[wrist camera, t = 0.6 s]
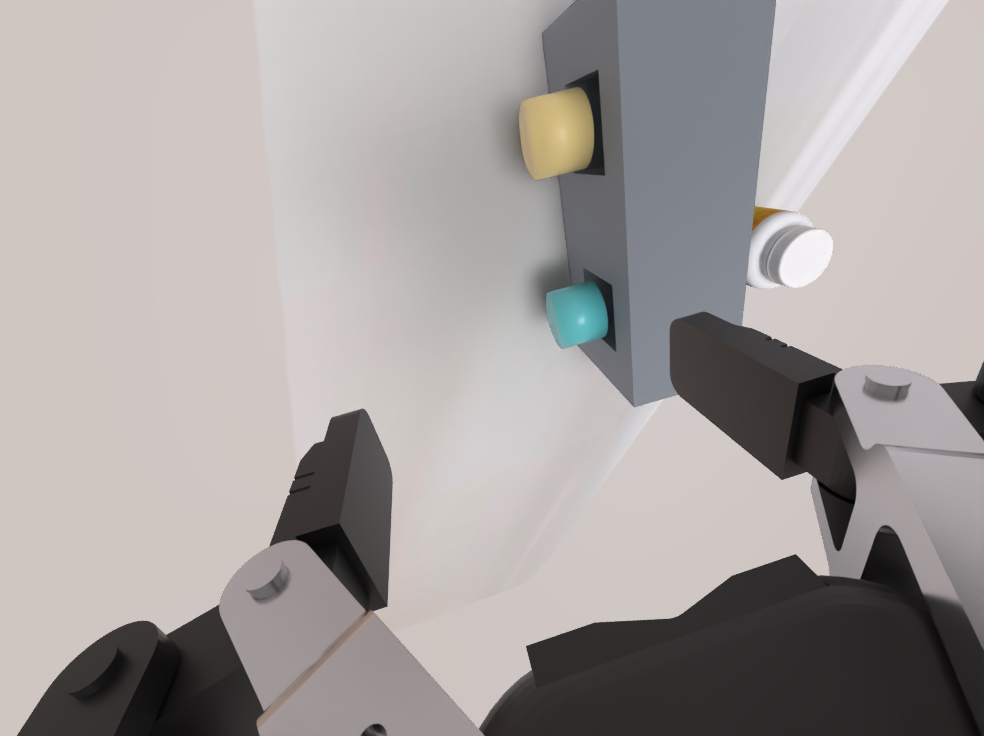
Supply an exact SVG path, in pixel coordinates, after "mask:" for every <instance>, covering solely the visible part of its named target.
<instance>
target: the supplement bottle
mask: <svg viewBox="0 0 984 736" xmlns="http://www.w3.org/2000/svg"><path fill="white" fill-rule="evenodd" d="M832 252H833V241H832V238H831V236H830V235H829V234H828V233H827V232H826V231H824V230H822V229H818V228H813V225H812V223H811V222H810V220H809V219H808V218H807V217H806V216H805V215H803V214H801V213H798V212H793V211H786V210H779V209H772V208H764V207H757V206H754V215H753V224H752V234H751V243H750V253H749V262H748V272H747V281H746V285H749V286H751V287H755V288H759V289H772V288H776V287H779V286H781V285H784V286H787V287H791V288H798V287H802V286H805V285H807V284H809V283H811V282H812V281H814V280H815V279H816V278H817V277H819V276H820V275H821V273H822V272H823V271H824V270H825V268H826V266H827V265H828V263H829V261H830V259H831V256H832Z"/></svg>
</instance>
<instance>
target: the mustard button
mask: <svg viewBox="0 0 984 736" xmlns="http://www.w3.org/2000/svg"><path fill="white" fill-rule="evenodd" d="M519 130H520V140H521V146H522V152H523V156H524V160H525V164H526V167H527V170H528V172H529V174H530V176H531V178H532V179H533V180H535V181H537V180H541V179H545V178H549V177H553V176H557V175H561V174H565V173H569V172H573V171H577V170H581V169H585V168H586V167H587V166H588V165H589V163H590V161H591V158H592V154H593V148H594V123H593V116H592V111H591V107H590V103H589V100H588V98H587V96H586V94H585V92H584V91H583V90H582V89H581V88H580V87H575V88H571V89H566V90H562V91H558V92H554V93H550V94H545V95H541V96H537V97H533V98H528V99H524V100H523V101H522V103H521V106H520V112H519Z"/></svg>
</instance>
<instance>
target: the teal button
mask: <svg viewBox="0 0 984 736" xmlns="http://www.w3.org/2000/svg"><path fill="white" fill-rule="evenodd" d="M546 311H547V316H548V321H549V324H550V328H551V331H552V334H553V336H554V338H555V341H556V342H557V344H558V346H559V347H560V348H562V349H563V348H567V347H571V346H574V345H578V344H581V343H585V342H589V341H592V340H596V339H600V338H603V337H605V336H606V334H607V330H608V316H607V310H606V306H605V302H604V299H603V296H602V294H601V292H600V290H599V288H598V287H597V285H596V284H595V283H594V282H592V281H587V282H584V283H580V284H576V285H572V286H569V287H565V288H561V289H557V290H554V291H550V292H547V294H546Z"/></svg>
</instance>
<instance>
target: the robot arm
mask: <svg viewBox="0 0 984 736" xmlns="http://www.w3.org/2000/svg"><path fill="white" fill-rule="evenodd" d="M670 378H671V382H672V385H673V387H674V389H675V391H676V392H677V393H678V395H680V397H682V398H683V399H684V400H685V401H686V402H688V403H689V404H690V405H691V406H693V407H694V408H695V409H696V410H697V411H699V412H700V413H701V414H702V415H704V416H705V417H706V418H707V419H709V420H710V421H711V422H712V423H713V424H715V425H716V426H717V427H718V428H719V429H721V430H722V431H723V432H724V433H725V434H727V435H728V436H729V437H730V438H731V439H733V440H734V441H735V442H736V443H738V444H739V445H740V446H741V447H742V448H744V449H745V450H746V451H747V452H749V453H750V454H751V455H752V456H753V457H755V458H756V459H757V460H758V461H759V462H761V463H762V464H763V465H764V466H766V467H767V468H768V469H769V470H770V471H772V472H773V473H774V474H775V475H777V476H778V477H779V478H780V479H781V480H783V479H786V478H789V477H792V476H795V475H798V474H802V473H804V472H808V473H809V474H811V475H812V476H813V479H812V484H811V494H812V497H813V502H814V506H815V510H816V514H817V519H818V523H819V527H820V531H821V535H822V539H823V544H824V548H825V552H826V556H827V560H828V565H829V573H830V576H822V575H821V576H817V575H816V574H815V573H814V572H813V571H812V570H811V569H810V568H809V567H808V566H807V565H806V564H805V563H804V562H803V561H802V560H801V559H800V558H799V557H798V556H797V555H796V554H795V555H792V556H789V557H786V558H783V559H780V560H778V561H775V562H772V563H769V564H766V565H763V566H760V567H757V568H754V569H751V570H748V571H745V572H742V573H739V574H736V575H733V576H731V577H730V578H729V579H727V580H726V581H725V582H723V583H722V584H721V585H719V586H718V587H717V588H715V590H713V591H712V592H710V593H709V594H708V595H706V596H705V597H704V598H702V599H701V600H700V601H698V602H697V603H696V604H695V605H693V606H692V607H690V608H689V609H688V610H687V611H685V612H684V613H683V614H681V615H679V616H678V617H675V618H671V619H656V620H637V621H618V622H599V623H593V624H590V625H587V626H584V627H581V628H578V629H575V630H572V631H569V632H566V633H563V634H560V635H557V636H555V637H552V638H549V639H546V640H543V641H540V642H537V643H534V644H531V645H528V646H526V648H527V652H528V656H529V660H530V664H531V668H532V670H531V671H530V672H528V673H527V674H526V675H524V676H523V677H521V678H520V679H519V680H518V681H517V682H516V683H515V684H514V685H513V686H511V687H510V688H509V689H508V690H507V691H506V692H505V693H504V695H503V696H502V697H501V698H500V699H499V701H498V702H497V703H496V704H495V706H494V707H493V708H492V709H491V711H490V712H489V714H488V715H487V717H486V718H485V720H484V722H483V723H482V725H481V726H480V728H479V729H478V728H477V727H476V726H475V725H474V723H473V722H472V721H471V720H470V719H469V718H468V717H467V715H465V713H464V712H463V711H462V710H461V709H460V708H459V707H458V705H457V704H456V703H455V702H454V701H453V700H452V699H451V698H450V696H449V695H448V694H447V693H446V692H445V691H444V690H443V689H442V688H441V686H440V685H439V684H438V683H437V682H436V681H435V680H434V679H433V678H432V677H431V675H430V674H429V673H428V672H427V671H426V670H425V669H424V668H423V666H422V665H421V664H420V663H419V662H418V661H417V660H416V659H415V658H414V656H413V655H412V654H411V653H410V652H409V651H408V650H407V649H406V647H405V646H404V645H403V644H402V643H401V642H400V641H399V640H398V639H397V637H396V636H395V635H394V634H393V633H392V632H391V631H390V630H389V628H388V627H387V626H386V625H385V624H384V623H383V622H382V621H381V619H380V618H379V617H378V616H377V615H376V614H375V613H374V612H373V611H375V610H378V609H381V608H384V607H387V603H388V579H389V555H390V531H391V507H392V472H391V468H390V464H389V461H388V458H387V455H386V453H385V451H384V449H383V446H382V444H381V442H380V440H379V437H378V435H377V433H376V431H375V428H374V426H373V424H372V422H371V419H370V417H369V415H368V413H367V412H366V411H365V410H364V409H360V410H356V411H353V412H349V413H346V414H342V415H339V416H335V417H332V418H331V420H330V423H329V426H328V430H327V433H326V436H325V439H324V441H323V442H319V443H316V444H314V445H313V446H312V447H311V449H310V450H309V451H308V452H307V453H306V455H305V456H304V457H303V458H302V459H301V461H300V463H299V466H298V469H297V472H296V474H295V477H294V478H295V481H293V483H292V486H291V488H290V491H289V492H290V495H288V497H287V499H286V502H285V505H284V507H283V510H282V513H281V516H280V519H279V521H278V524H277V527H276V530H275V532H274V535H273V538H272V541H271V543H270V546H269V547H268V548H266V549H264V550H263V551H261V552H259V553H258V554H256V555H255V556H253V557H252V558H251V559H250V560H248V561H247V562H246V563H245V564H244V565H243V566H242V567H241V568H240V569H239V570H238V571H237V572H236V573H235V575H234V576H233V577H232V578H231V580H230V581H229V583H228V584H227V586H226V588H225V589H224V591H223V594H222V596H221V599H220V604H219V605H218V606H216V607H215V608H213V609H211V610H209V611H208V612H206V613H204V614H202V615H200V616H199V617H197V618H195V619H193V620H192V621H190V622H188V623H187V624H185V625H183V626H181V627H180V628H178V629H176V630H174V631H173V632H171V633H169V634H167V635H165V634H164V633H163V632H162V631H161V630H160V629H159V628H158V627H157V626H156V625H155V624H153V623H151V622H149V621H137V622H133V623H130V624H126V625H124V626H122V627H119V628H117V629H115V630H113V631H112V632H110V633H108V634H107V635H105V636H103V637H102V638H100V639H99V640H97V641H96V642H95V643H93V644H92V645H91V646H89V647H88V648H87V649H86V650H85V651H83V652H82V653H81V654H79V655H78V656H77V657H76V658H75V659H74V660H73V661H72V662H71V663H70V664H69V665H68V666H67V667H66V668H65V669H64V670H63V671H62V672H61V673H60V674H59V675H58V677H57V678H56V679H55V680H54V681H53V683H52V684H51V685H50V687H49V688H48V690H47V691H46V692H45V694H44V695H43V697H42V698H41V700H40V702H39V703H38V704H37V706H36V708H35V709H34V710H33V712H32V714H31V715H30V717H29V718H28V720H27V721H26V723H25V724H24V726H23V727H22V729H21V730H20V732H19V733H18V735H17V736H984V362H983V364H982V367H981V369H980V371H979V374H978V376H977V379H976V381H968V382H956V383H945V384H938V383H937V382H936V381H934V380H933V379H931V378H929V377H926V376H924V375H922V374H919V373H917V372H913V371H910V370H907V369H903V368H897V367H891V366H883V365H861V366H854V367H850V368H846V369H844V370H843V369H841V368H838V367H836V366H834V365H832V364H830V363H827V362H825V361H823V360H821V359H818V358H816V357H814V356H812V355H810V354H808V353H805V352H803V351H801V350H799V349H797V348H794V347H792V346H789V347H788V346H787V344H786V343H783V342H781V341H779V340H777V339H773V340H772V338H771V337H770V336H768V335H766V334H763V333H761V332H759V331H757V330H754V329H752V328H747V327H743V326H738V325H734V324H732V323H729V322H727V321H725V320H723V319H721V318H719V317H717V316H714V315H712V314H710V313H708V312H699V313H696V314H692V315H689V316H685V317H682V318H678V319H675V320H673V321H672V323H671V325H670Z"/></svg>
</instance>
